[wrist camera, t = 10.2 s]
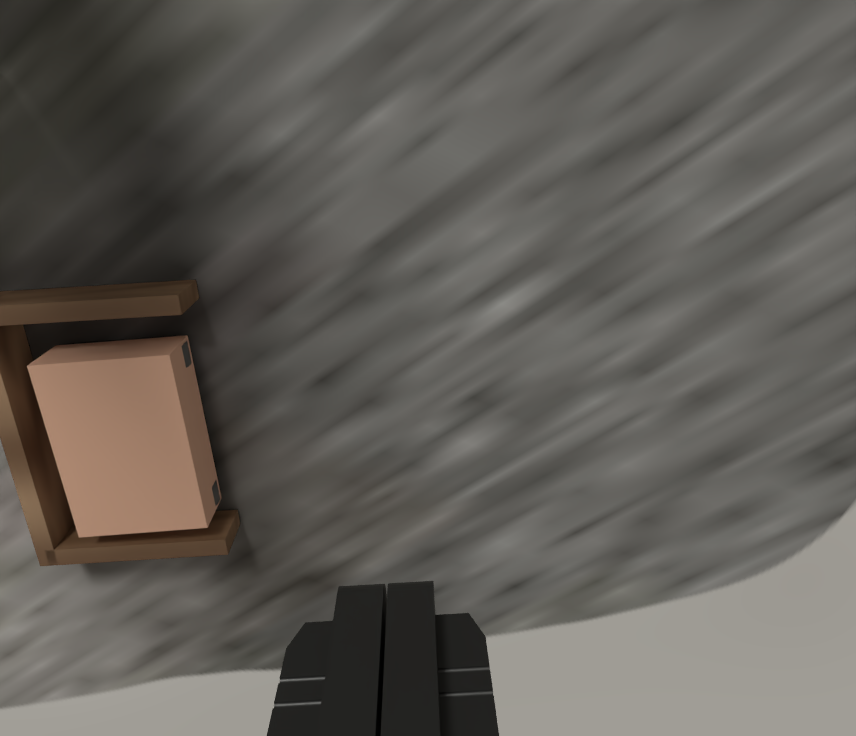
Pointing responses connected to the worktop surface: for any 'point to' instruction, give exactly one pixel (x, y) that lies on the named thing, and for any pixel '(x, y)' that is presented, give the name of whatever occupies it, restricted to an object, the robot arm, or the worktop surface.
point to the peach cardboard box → (128, 435)
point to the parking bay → (29, 443)
